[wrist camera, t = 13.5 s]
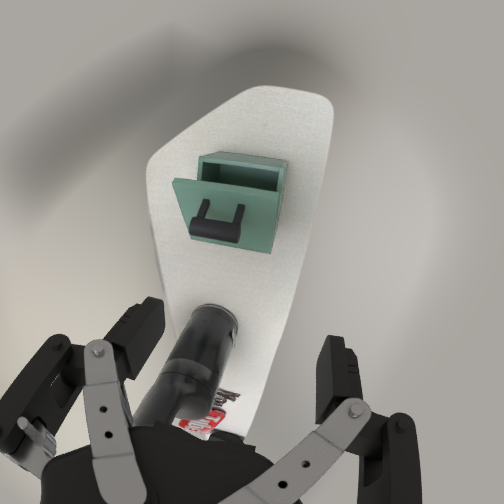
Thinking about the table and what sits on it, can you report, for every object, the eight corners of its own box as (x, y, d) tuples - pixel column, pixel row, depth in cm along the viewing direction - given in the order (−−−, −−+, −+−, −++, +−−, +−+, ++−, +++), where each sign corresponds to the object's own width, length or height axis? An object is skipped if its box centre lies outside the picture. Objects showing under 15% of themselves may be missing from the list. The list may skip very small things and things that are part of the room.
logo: (208, 391, 57) (246, 400, 60) (208, 385, 58) (245, 395, 61) (176, 429, 66) (207, 436, 69) (176, 424, 67) (207, 431, 70)
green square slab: (174, 177, 25) (155, 217, 23) (279, 192, 24) (270, 236, 22) (193, 234, 35) (181, 267, 33) (271, 248, 34) (264, 284, 32)
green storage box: (218, 151, 38) (198, 156, 31) (288, 161, 37) (285, 168, 30) (212, 215, 43) (193, 235, 35) (277, 227, 42) (271, 249, 34)
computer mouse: (245, 447, 67) (248, 437, 71) (210, 435, 68) (214, 425, 72) (239, 454, 69) (242, 445, 73) (206, 443, 70) (210, 434, 74)
